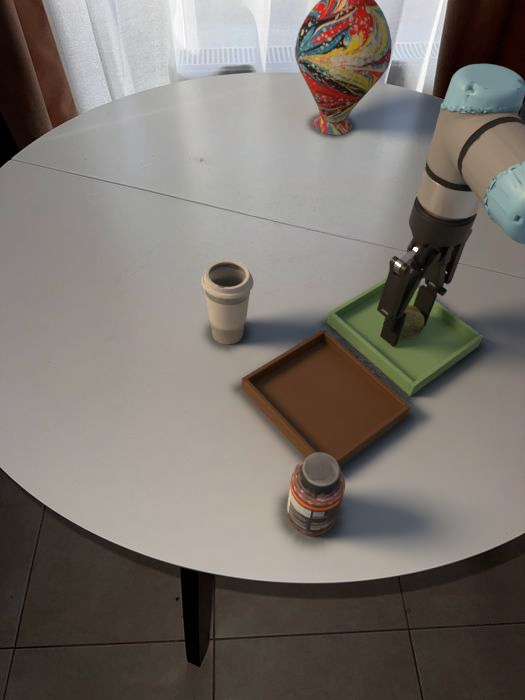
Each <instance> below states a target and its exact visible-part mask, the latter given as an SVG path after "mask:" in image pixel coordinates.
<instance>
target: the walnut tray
mask: <svg viewBox="0 0 525 700" xmlns="http://www.w3.org/2000/svg"><path fill="white" fill-rule="evenodd" d="M240 386H241V390H242V392H244V393H245V395H247V396H248V398H250V400H251V401H252V402H253V403H254V404H255V405H256V406H257V407H258V408H259V410H261V411H262V412H263V414H265V416H266V417H267V418H268V419H269V420H270V421H271V423H272V424H273V425H275V426H276V428H277V429H278V430H279V431H280V432H281V433H282V434H283V436H284V437H286V439H287V440H288V441H289V442H290V443H291V444H292V445H293V446H294V447H295V448H296V449H297V451H299V452H300V454H301V455H302V456H303V457H304V458H305V459H306V458H307V457H308V456H309V455H311V454H313V453H319V452H321V453H327V454H329V455H331V456H332V457H333V458H334V459H335V460H336V461H337V462H338V464H339V467H340V468H341V467H342V466H343V465H345V464H346V463H347V462H349V461H350V460H352V459H353V458H354V457H355V456H357V455H358V454H359V453H360V452H362V451H363V450H364V449H366V448H367V447H368V446H369V445H371V444H372V443H373V442H375V441H376V440H378V439H379V438H380V437H381V436H383V435H384V434H386V433H387V432H388V431H390V430H391V429H392V428H394V427H395V426H396V425H398V424H399V423H400V422H402V421H404V419H406V418H407V417H408V416H409V413H410V410H411V408H412V406H411V405H410V404H409V403H407V402H406V400H404V399H403V398H402V396H400V395H398V393H396V392H395V391H394V389H392V388H391V387H390V386H389V385H388V384H387V383H385V382H384V381H383V380H382V379H380V378H379V376H377V375H376V373H374V372H373V371H372V370H371V369H369V367H368V366H366V365H365V364H364V363H363V362H362V361H361V360H360V359H358V358H357V357H356V356H355V355H354V354H353V353H352V352H350V351H349V349H347V348H346V347H345V346H344V345H343V344H342V343H341V342H340V341H338V340H337V339H336V338H335V337H334V336H333V335H332V334H330V332H328V331H327V330H326V329H325V328H323V329H321V330H320V331H318V332H316V333H315V334H312V335H311V336H309V337H307V338H306V339H305V340H303V341H301V342H300V343H298V344H296V345H294V346H293V347H291V348H290V349H288V350H286V351H285V352H283V353H281V354H280V355H278V356H276V357H274V358H273V359H271V360H270V361H268V362H266V363H264V364H263V365H261V366H260V367H258V368H257V369H255V370H253V371H251V372H250V373H248V374H246V375H244V376H243V377H241V385H240Z"/></svg>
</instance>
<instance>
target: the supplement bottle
mask: <svg viewBox="0 0 525 700" xmlns="http://www.w3.org/2000/svg"><path fill="white" fill-rule="evenodd" d="M290 478H291V479H290V484H289V491H288V496H287V507H286V514H287V519H288V521H289V522H290V524H291V525H292V527H293V528H294V529H295V530H296V531H297V532H299V533H301V534H303V535H306V536H321V535H323V534H325V533H327V532H328V531H329V530H330V529H331V528H332V527H333V526H334V525H335V522H336V519H337V517H338V514H339V510H340V508H341V505H342V501H343V497H344V494H345V491H346V478H345V475H344V472H343V470H342V468H341V466H340V467H339V464H338V462H337V461H336V460H335V459H334V458H333V457H332V456H331V455H329V454H327V453H321V452H319V453H313V454H311V455H309V456H308V457H307V458H305V459H303V460H301V461H300V462H298V463H297V465H296V466H295V468H293V470H292V474H291V477H290Z"/></svg>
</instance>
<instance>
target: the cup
mask: <svg viewBox="0 0 525 700" xmlns="http://www.w3.org/2000/svg"><path fill="white" fill-rule="evenodd" d="M200 279H201V281H200V283H201V286H202V288H203V290H204V294H205V299H206V306H207V307H206V308H207V313H208V319H209V322H210V326H211V327H210V328H211V335H212V337H213V339H214V340H215V341H216V342H217V343H220V344H222V345H234V344H236V343H238V342H240V341H241V339H242V338H243V336H244V331H245V325H246V324H245V323H246V321H247V315H248V308H249V302H250V294H251V291H252V289H253V287H254V284H255V283H254V277H253V275H252V273H251V272H250V270H249V268H248V267H247V266H246V265H245V264H244V263H242V262H240V261H238V260H234V259H226V258H225V259H220V260H216V261H213V262H211V263H210V264H209V265H208V266H207V267H206V270H205V271H203V273H202V276H201V278H200Z"/></svg>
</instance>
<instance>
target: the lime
mask: <svg viewBox="0 0 525 700" xmlns="http://www.w3.org/2000/svg"><path fill="white" fill-rule="evenodd" d="M404 313H405V314H406V315H407V316H406V319H405V322H404V325H403V327H402V330H401V333H400V336H399V338H400V339H407V338H410V337H413V336H415V335H417V334H418V333H420V332H421V330H422V329H423V327H424V316H423V314H422V313H421V312H420V311H419V309H418V308H417V307H415V306H410V305H408V306H407V308H406V310H405V312H404Z"/></svg>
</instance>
